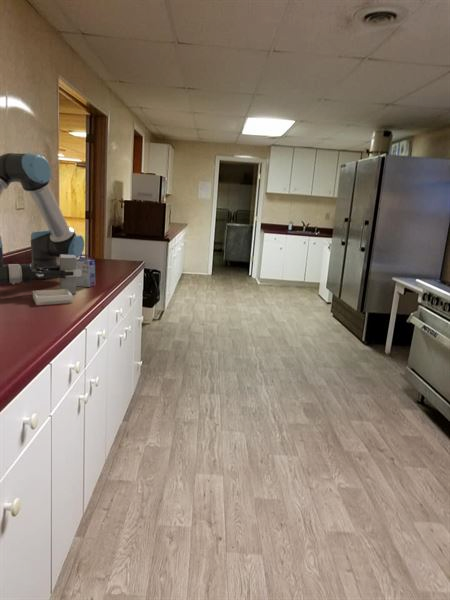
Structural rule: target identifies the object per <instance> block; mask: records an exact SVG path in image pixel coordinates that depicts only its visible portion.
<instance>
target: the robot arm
mask: <svg viewBox="0 0 450 600" xmlns="http://www.w3.org/2000/svg"><path fill="white" fill-rule="evenodd" d="M51 171H52V169H51V166H50V163H49V162H48V160H47V159H46V157H44V156H43V155H41V154H38V153H31V152H27V153H13V152H12V153H11V152H9V153H4V154H1V155H0V197H2V194H3V192H4V190H7V189H8V187H9V185H10V184H11V183H20V185H21V187H22V189H23V190H24V191H25V192H28V193H29V194H30V196H31V199H32V200H33V202H34V204H35V206H36V207H37V210H38V211H39V213H40V216H41V217H42V218H43V221H44V222H45V224H46V227H47V229H48V230H40V231H37V230H36V231H33V232H31V233H30V249H31V263H22V264H19V263H12V264H11V263H9V264H4V253H3V252H4V251H3V242H2V241H3V240H2V237H1V235H0V285H2V284H12V285H15V284H16V283H17V284H19V283H21V282H22V283H26V284H27V283H32V282H33V279H38V280H39V279H41V280H43V279H47V280H48V279H60V278H63V279H65V277H75V276H82V273H81V270H65V271H60V264H59V263H58V258H60V255H61V254H63V255H75V256H76V259H79V258H80V255H81V254H83V252H84V249H85V239H84V237H83V236H82V235H81V234H76V231H75V230H74V229H73V227H71V226H69V225H68V223H67V221H66V218H65V217H64V214H63V212H62V211H61V210H62V209H60V207H59V204H58V202H57V199H56V198H55V196H54V194H53V192H52V189H51V187H50V186H49V185H50V182H51V177H52V176H51V175H52V172H51ZM76 268H77V266H76Z"/></svg>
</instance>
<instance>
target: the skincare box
mask: <svg viewBox="0 0 450 600" xmlns="http://www.w3.org/2000/svg"><path fill="white" fill-rule="evenodd" d="M77 259H78V258H76V256H75V255H63V254H61V255H60V257H59V265H60V271H65V270H77V268H76V266H77ZM58 279H59V284H58V285H59V288H58V289H68V291H69V292H70V293H71V294H72V295H76V294H77V286H76V276H75V277H65V279H63V278H58Z"/></svg>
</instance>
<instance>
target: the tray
mask: <svg viewBox="0 0 450 600" xmlns="http://www.w3.org/2000/svg"><path fill="white" fill-rule="evenodd" d="M32 299H33V301H34V302H35V306H43V305H44V306H45V305H47V306H48V305H57V304H59V305H60V304H73V303H74V294H71V293H70V292H69V291H68V289H59V288H56V289H39V290H37V289H36V290H32Z"/></svg>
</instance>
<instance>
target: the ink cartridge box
mask: <svg viewBox="0 0 450 600" xmlns="http://www.w3.org/2000/svg"><path fill="white" fill-rule="evenodd" d="M88 256H89V254H83V253H82V254H81V255H80V257H78V258H76V259H77V270H81V273H82V276H76V287H83V288H85V287H87V288H92V287H96V261H95V259H88Z"/></svg>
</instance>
